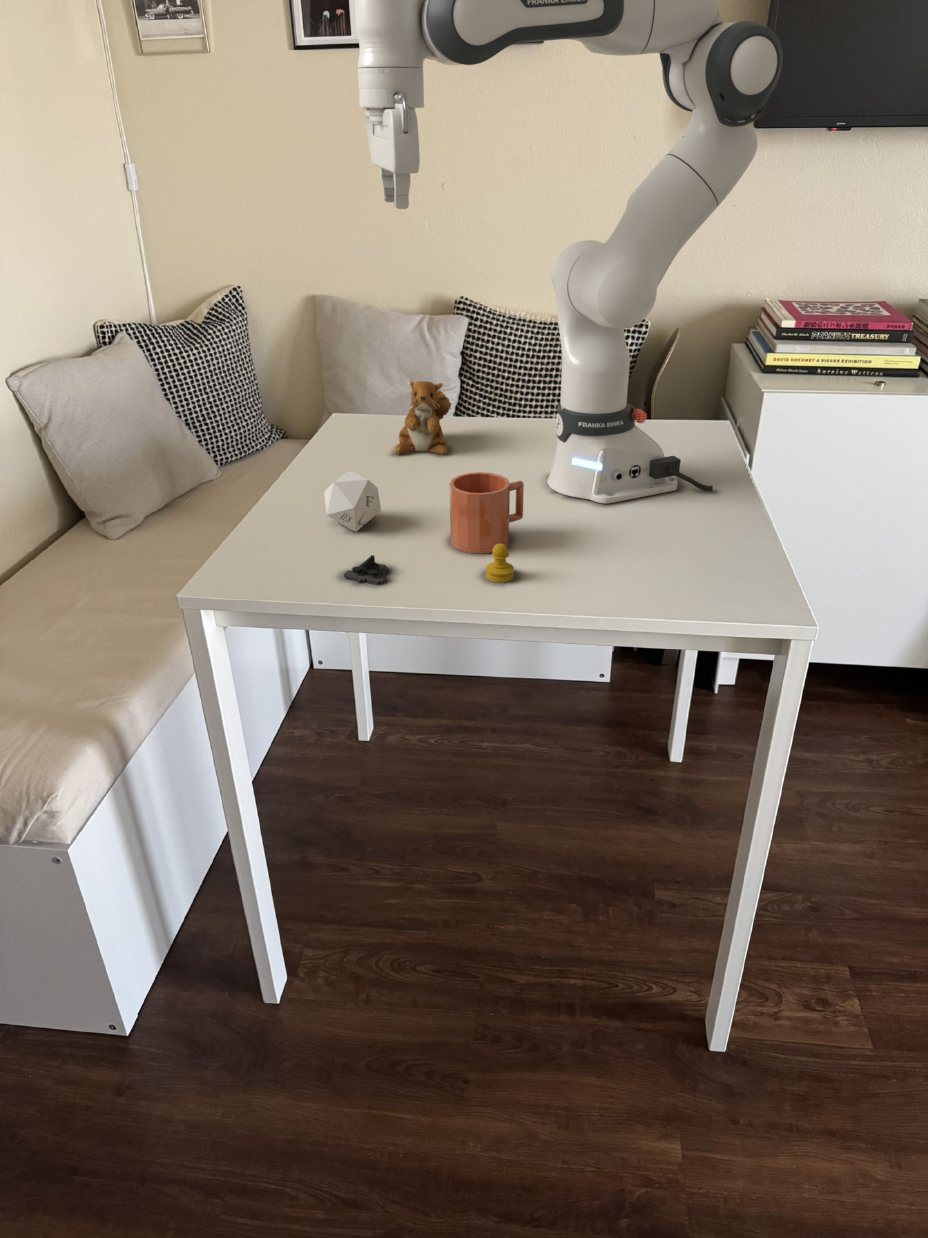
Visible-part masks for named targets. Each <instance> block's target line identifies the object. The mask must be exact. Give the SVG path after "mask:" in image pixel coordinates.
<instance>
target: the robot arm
mask: <svg viewBox="0 0 928 1238" xmlns="http://www.w3.org/2000/svg"><path fill="white" fill-rule="evenodd" d="M719 3H720V0H354V27H355V33H356V37H357V40H358V45H359V51H358V53H359V54H358V59H357V81H358V82H357V83H358V99H359V100H358V102H359V108H360V109H364V110H365V111H364V112H365V113H364V115H365V124H366V125H365V126H366V134H367V142H368V149H369V155H370V159H371V163H372V165H373V166H376V167H378V168H379V175H380V181H381V186H382V196H383V197H382V199H383V201H384V202H386V203H394V207H395V208H396V209H397V210H407V209H409V207H410V200H409V199H410V197H409V194H410V189H411V181H412V180H411V174H418V173H419V170H420V163H421V159H420V157H421V156H420V142H419V140H420V138H419V125H418V123H419V122H418V115H417V112H416V109H423V108H425V85H424V81H425V80H424V62H425V60H426V59H427V60H431V61H436V62H437V63H439V64H442V65H446V66H460V65H463V66H474V65H478V64H481V63H484V62H486V61H488V60H490V59H492V58H494V57H495V56H496V55H498V54H499V53H500V52H502V51H504V50H505V49H507V48H509V47H510V46H513V45H517V44H523V43H534V42H546V41H547V42H548V41H559V40H572V41H577V42H580V43H581V44H582V45H583V46H584V47H585V49H587V51H589V52H590V53H592V54H593V53H594V54H599V55H606V56H618V57H619V56H620V57H622V56H624V57H625V56H627V57H628V56H637V55H648V54H649V55H650V54H659V58H660V63H661V68H662V69H661V70H662V71H661V74H662V82H663V87H664V90H665V92H666V95H667V96H668V98H669V100H670V101H671V102H672V103H673V104H674V105H675V106H677V107H678V108H680V109H682V110H685V111H686V112H691V117H690V120H689V123H688V125H687V127H686V129H685V131H684V132H683V134H682V136H681V139H679V140H678V141H677V142H676V144H674V145H673V146H672V148H671V149H670V150H669V151H668V152H667V153H666V154H665V155H664V157H663V158H662V159H660V161H659V162H658V163H657V164H656V165H655V167H654V168H653V169H652V170H651V171H650V172H649V173H648V175H646V177H645V178H644V179H643V181H641V182H640V184H639V185H638V186H637V187H636V188H635V189H634V191H633V192H632V193H630V195H629V197H628V199H627V202H626V206H625V210H624V212H623V214H622V216H621V217H620V218H621V219H619V221H618V223H617V225H616V226H615V228H614V230H613V232H612V233H611V235H610V236H609V237H608V239H607V240H605V241H604V242H602V241H599V240H595V239H586V240H581V241H577V242H573V243H571V244H569V245H567V246H566V247H564V248H563V249H562V250H561V251H559V253H558V254H557V256H556V257H555V259H554V261H553V263H552V269H551V282H552V285H553V289H554V294H555V301H556V312H557V324H558V332H559V339H560V348H561V349H560V350H561V377H560V398H559V399H560V401H558V403H557V411H556V415H555V416H556V417H555V433H556V437H557V438H556V439H557V440H556V445H555V450H554V451H555V452H554V456H553V461H552V466H551V469H550V472H549V476H548V478H547V481H546V483H547V485H548V486H549V488H550V489H552V490H553V491H554V492H556V493H558V494H561V495H564V496H568V497H573V498H579V499H584V500H590V501H592V502H596V503H599V504H602V505H603V504H604V505H605V504H607V505H608V504H613V503H617V502H618V503H619V502H622V501H628V500H634V499H639V498H643V497H649V496H654V495H659V494H663V493H668V492H674V491H676V490H677V489H678V482H679V481H678V478H679V479H681V480H683V481H685V482H687V483H689V484H691V485H692V486H693V487H695V488H697V489H699V490H702V491H706V492H713V489H714V486H713V485H706V484H703V483H700V482H699V481H698V480H696V479H694V478H693V477H690V476H688V475H686V474H684V473H682V472H680V471H681V470H680V469H681V462H682V459H680V458H679V457H677V456H675V455H669V456H665V452H664V450H663V449H662V447H661V446H660V445H659V443H658V442H657V441H655V440H654V439H653V438H652V437H651V436H649V435H648V434H647V433H646V432H645V431H643V430H642V429H641V428H640V427H638V426H637V425H636V423H638V424H644V423H645V421H647V418H648V414H647V413H646V412H645V411H643V410H642V409H641V408H636V407H635V406H634V405H632V404H630V403H629V402H628V393H629V380H630V368H631V367H630V366H631V355H630V351H629V350H628V345H627V341H626V336H625V329H627V328H631V327H634V326H636V325H638V324H640V323H642V322H643V321H644V320H645V319H646V318H647V317H648V316H649V314H650V313H651V311H652V310H653V307H654V305H655V303H656V300H657V296H658V295H657V293H658V288H659V285H661V282H662V280H663V279H664V277H665V275H666V273H667V271H668V270H669V268H670V266H671V264H672V263H673V261H674V259H675V258H676V256H677V255H678V254H679V252H680V251H681V250H682V248H683V247H684V245H685V244H686V243H687V242H688V241H689V240H690V238H692V236H693V235H694V234H695V233H696V232H697V230H699V229H700V228H701V226H702V225H703V224H704V223H705V222H706V221H707V220H708V218H710V216H711V215H712V214H713V213H714V212H715V211H716V210H717V208H718V207H719V206H720V205H721V204H722V203H723V201H724V200H725V199H726V198H727V197H728V195H730V193H731V192H732V190H733V189H734V188H735V186H737V184H738V182H739V181H740V180H741V178H742V177H743V176H744V174H745V172H746V171H747V170H748V168H749V166H750V164H751V163H752V161H753V160H754V158H755V156H756V153H757V150H758V136H757V133H756V130H755V128H754V126H753V124H752V123H753V122H755V121H756V120H758V119H759V118H760V117H761V116H762V115H763V113H764V111H765V109H766V105H767V103H768V100H769V98H770V96H771V95H772V93H773V92H774V90H775V88H776V86H777V84H778V82H779V78H780V75H781V74H782V73H781V72H782V68H783V62H784V53H783V47H782V44H781V40H780V39H779V37H778V36H777V35H776V33H775V32H774V31H773V30H772V29H771V28H769V27H768V26H766V25H765V24H763V23H759V22H756V21H753V20H740V21H730V22H724V19H723V18H722V16H721V14H720V10H719ZM754 115H755V116H754Z"/></svg>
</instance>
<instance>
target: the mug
mask: <svg viewBox="0 0 928 1238" xmlns="http://www.w3.org/2000/svg"><path fill="white" fill-rule="evenodd" d="M524 483H525V482H524V481H522V480H515V481H512V482H510V481H509V479H508V478H507V477H505V476H503V475H501V474H498V473H492V472H486V471H485V472H483V471H477V472H467V473H464V474H463V473H462V474H459V475H457V476H455V477H453V478H451V480H450V482H449V527H450V529H449V531H450V542H451V545H452V546H453V548H455V549H456V550H458V551H461V552H463V553H464V552H465V553H469V554H479V555H480V554H490V553H491V554H492V553H493V552H492V550H493V547H494V546H495V545H496V544H504V545H505V546H506V547H507V546H508V544H509V538H510V523H514V522H518V521H520V520H522V519H523V517H524V491H525V490H524V489H525V488H524V487H525V484H524ZM512 491H515V504H514V505H515V506H514V507H515V509H514V511H515V512H513V513H510V501H511V500H510V498H511V497H510V496H511V494H510V493H511V492H512Z"/></svg>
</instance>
